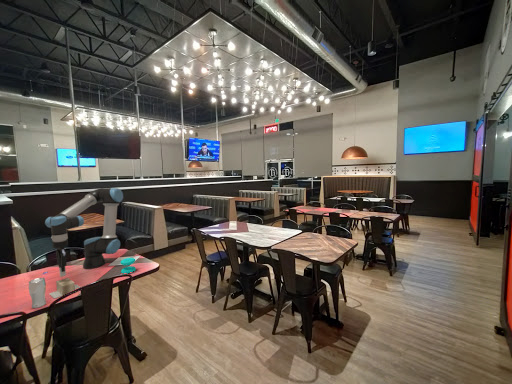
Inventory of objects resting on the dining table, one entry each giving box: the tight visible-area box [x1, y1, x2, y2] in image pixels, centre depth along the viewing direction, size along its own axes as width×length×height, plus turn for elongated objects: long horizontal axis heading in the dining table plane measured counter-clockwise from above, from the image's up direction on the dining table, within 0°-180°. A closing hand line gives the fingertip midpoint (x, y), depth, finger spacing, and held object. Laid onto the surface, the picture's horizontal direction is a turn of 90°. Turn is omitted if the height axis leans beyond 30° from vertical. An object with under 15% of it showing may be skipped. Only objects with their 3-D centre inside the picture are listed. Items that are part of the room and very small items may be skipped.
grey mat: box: [48, 284, 81, 299], centre depth 143 cm, size 14×10×1 cm
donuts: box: [120, 257, 137, 275], centre depth 171 cm, size 10×10×10 cm
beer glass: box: [28, 277, 47, 309], centre depth 127 cm, size 7×7×15 cm
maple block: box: [55, 277, 76, 296], centre depth 143 cm, size 6×6×12 cm
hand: (62, 276), depth 144 cm, fingers closed
